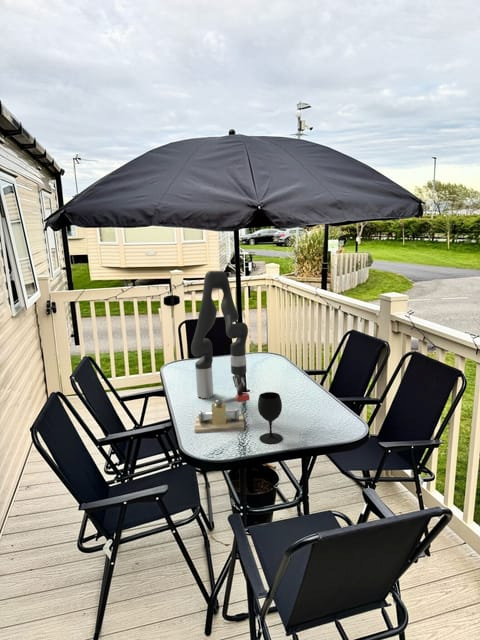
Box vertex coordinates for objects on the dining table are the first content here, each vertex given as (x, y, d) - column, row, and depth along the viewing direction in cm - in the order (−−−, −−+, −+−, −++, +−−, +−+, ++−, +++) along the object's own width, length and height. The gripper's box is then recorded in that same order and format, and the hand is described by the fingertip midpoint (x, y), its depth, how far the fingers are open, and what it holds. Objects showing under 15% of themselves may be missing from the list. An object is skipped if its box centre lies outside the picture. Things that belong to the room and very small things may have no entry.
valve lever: (216, 406, 201) (216, 401, 201) (214, 404, 204) (214, 399, 204) (249, 400, 207) (249, 395, 207) (247, 398, 210) (246, 393, 210)
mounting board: (196, 419, 212) (196, 416, 212) (243, 416, 212) (242, 414, 212) (194, 432, 197) (194, 429, 197) (244, 429, 198) (244, 426, 197)
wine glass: (255, 436, 191) (253, 393, 187) (276, 431, 194) (275, 389, 191) (265, 446, 181) (263, 401, 177) (287, 441, 185) (285, 397, 181)
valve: (200, 419, 208) (199, 404, 206) (239, 417, 208) (238, 402, 207) (199, 425, 201) (198, 409, 200) (239, 423, 202) (238, 407, 200)
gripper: (250, 366, 203) (252, 400, 206) (240, 359, 215) (242, 391, 218) (236, 368, 200) (237, 403, 203) (226, 361, 212) (228, 394, 215)
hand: (240, 397), depth 211 cm, fingers closed
